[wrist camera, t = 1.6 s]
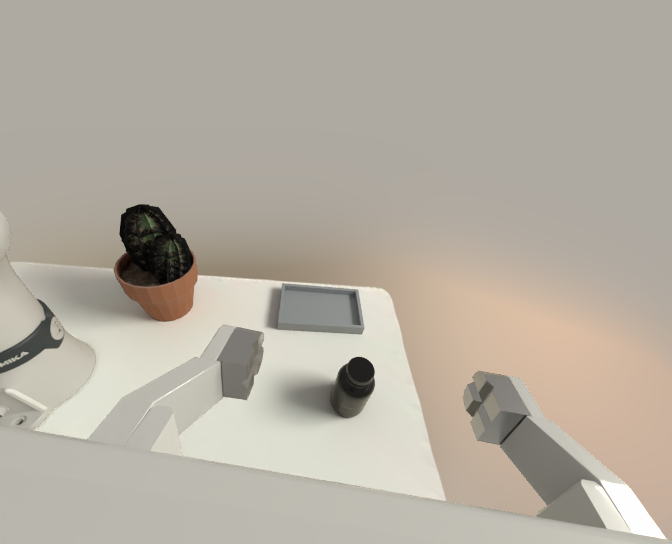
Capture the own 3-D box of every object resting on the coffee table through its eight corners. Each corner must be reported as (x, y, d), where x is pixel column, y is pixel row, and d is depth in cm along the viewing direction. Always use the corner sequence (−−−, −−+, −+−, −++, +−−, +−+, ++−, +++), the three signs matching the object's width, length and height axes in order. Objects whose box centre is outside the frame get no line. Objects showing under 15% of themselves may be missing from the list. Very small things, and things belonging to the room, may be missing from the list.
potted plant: (125, 332, 56) (68, 231, 39) (146, 284, 66) (107, 186, 49) (198, 329, 59) (174, 235, 43) (208, 284, 69) (191, 193, 53)
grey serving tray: (277, 329, 63) (277, 322, 61) (282, 290, 72) (282, 283, 70) (361, 334, 66) (364, 327, 65) (356, 295, 75) (358, 289, 74)
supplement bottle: (370, 400, 55) (388, 370, 47) (349, 426, 51) (365, 399, 43) (344, 376, 58) (358, 344, 50) (322, 399, 53) (333, 368, 45)
